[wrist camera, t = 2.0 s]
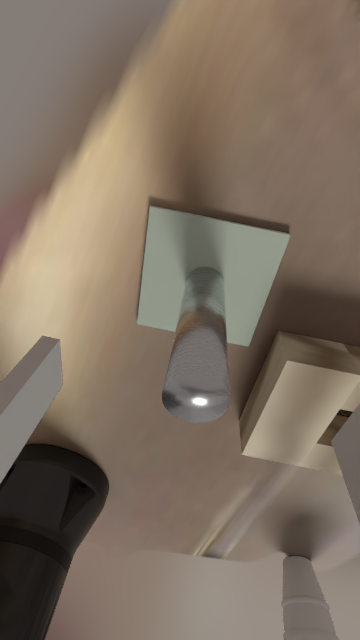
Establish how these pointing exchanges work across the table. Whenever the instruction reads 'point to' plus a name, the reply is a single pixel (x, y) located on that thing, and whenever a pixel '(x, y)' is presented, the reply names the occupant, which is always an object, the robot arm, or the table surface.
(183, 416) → the peg
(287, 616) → the soft serve ice cream cone
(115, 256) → the table surface
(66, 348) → the table surface
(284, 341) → the block
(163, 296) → the mat
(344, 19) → the table surface
